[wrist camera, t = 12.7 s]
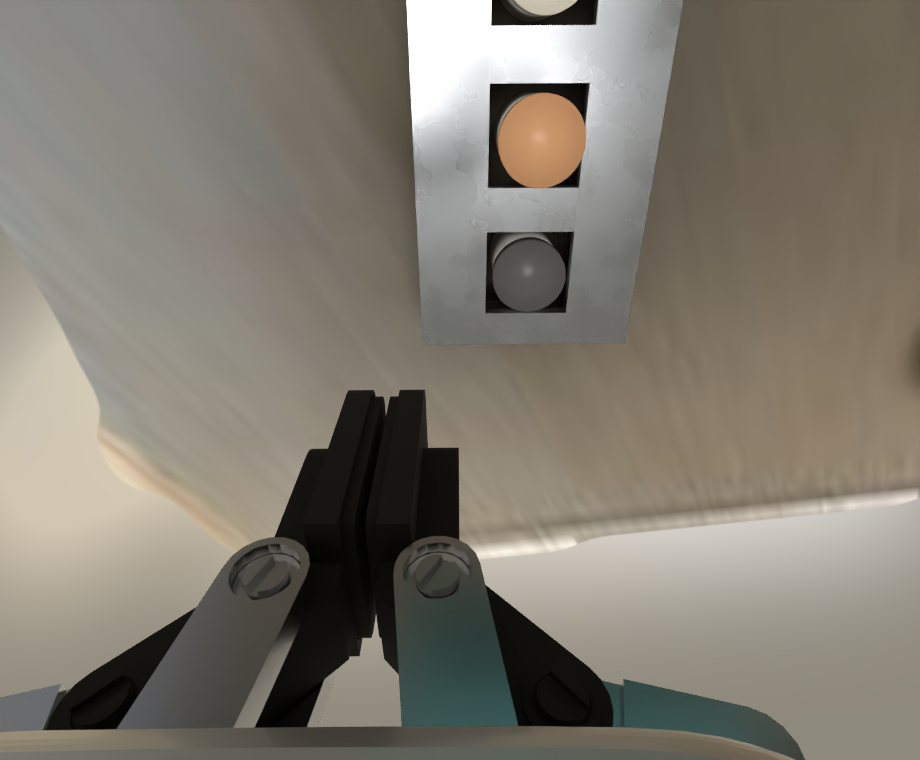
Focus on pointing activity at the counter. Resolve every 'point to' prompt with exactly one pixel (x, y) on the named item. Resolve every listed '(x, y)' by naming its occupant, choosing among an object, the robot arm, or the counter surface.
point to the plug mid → (539, 138)
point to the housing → (524, 208)
